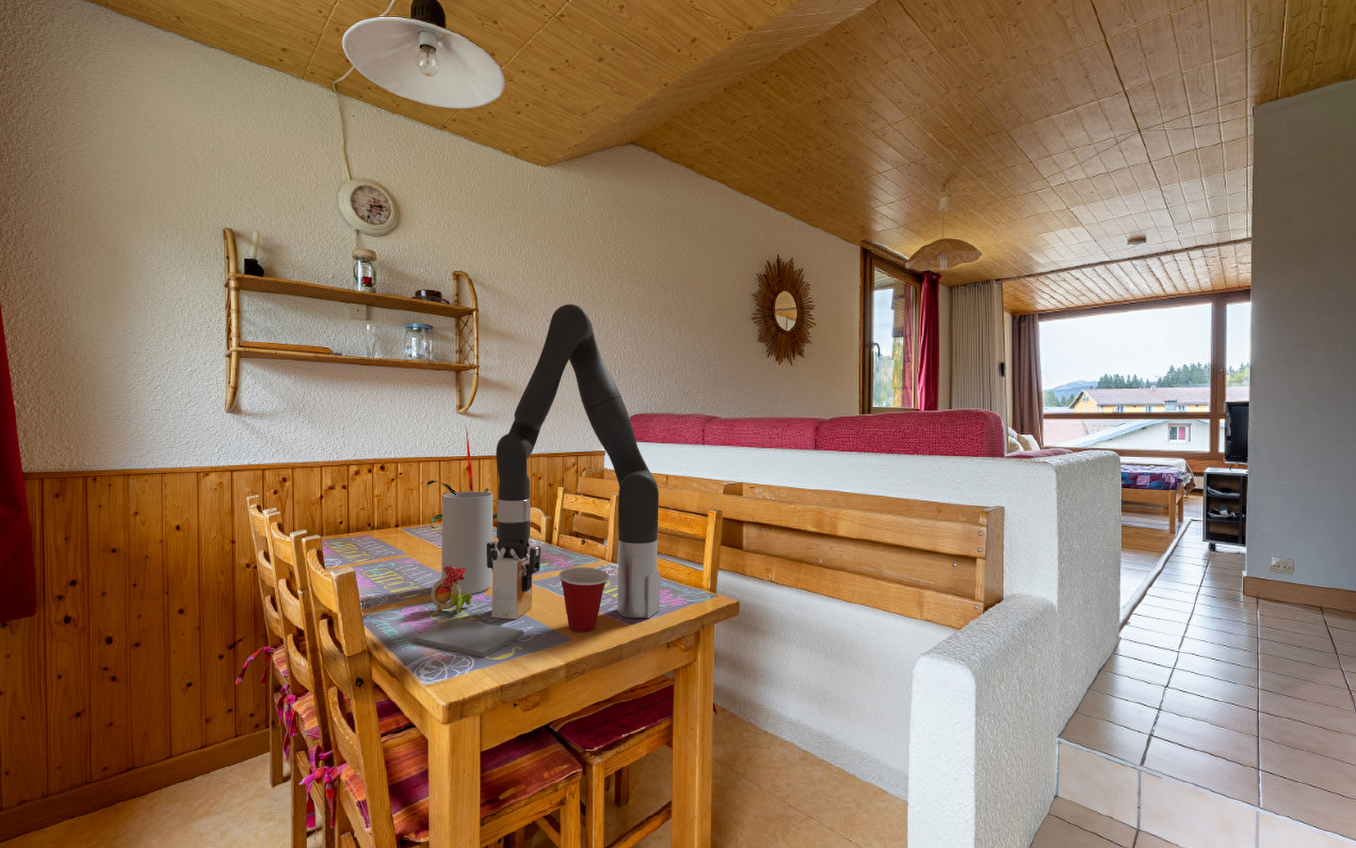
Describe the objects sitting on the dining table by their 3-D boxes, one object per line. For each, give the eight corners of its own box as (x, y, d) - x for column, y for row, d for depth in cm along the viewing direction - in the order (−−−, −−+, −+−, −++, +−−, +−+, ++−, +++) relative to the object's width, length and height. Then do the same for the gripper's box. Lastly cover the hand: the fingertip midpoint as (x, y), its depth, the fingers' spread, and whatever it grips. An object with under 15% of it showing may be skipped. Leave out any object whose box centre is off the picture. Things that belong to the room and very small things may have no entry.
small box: (516, 620, 125) (517, 562, 125) (491, 617, 127) (491, 560, 126) (532, 608, 133) (533, 554, 133) (508, 606, 134) (509, 552, 134)
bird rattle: (433, 624, 127) (469, 609, 127) (415, 579, 128) (451, 564, 127) (446, 615, 134) (480, 601, 133) (428, 572, 134) (462, 558, 134)
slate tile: (523, 635, 116) (523, 630, 116) (483, 657, 105) (483, 652, 105) (457, 622, 123) (457, 617, 123) (412, 641, 112) (412, 636, 112)
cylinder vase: (501, 585, 151) (503, 493, 151) (466, 598, 140) (468, 499, 139) (466, 579, 156) (468, 490, 156) (430, 591, 145) (432, 495, 145)
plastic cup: (587, 641, 114) (588, 583, 114) (547, 630, 119) (548, 575, 119) (618, 625, 123) (619, 571, 123) (579, 615, 129) (580, 564, 129)
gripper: (549, 518, 131) (547, 588, 131) (499, 513, 136) (498, 581, 136) (529, 523, 124) (527, 597, 124) (478, 518, 129) (477, 589, 129)
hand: (512, 588), depth 130 cm, fingers closed on small box, 7 cm apart
